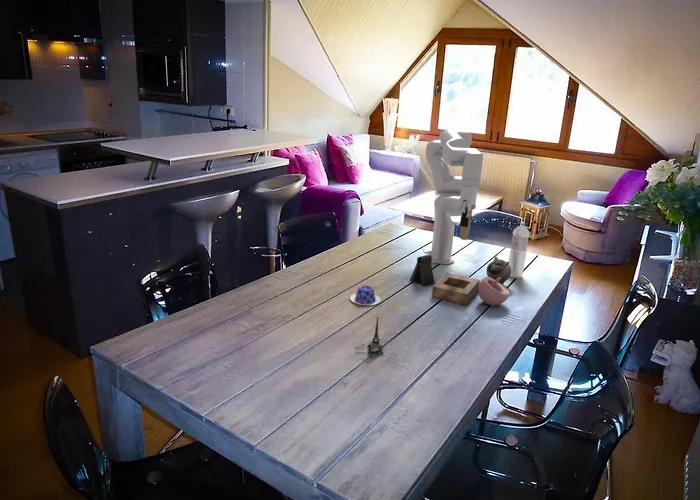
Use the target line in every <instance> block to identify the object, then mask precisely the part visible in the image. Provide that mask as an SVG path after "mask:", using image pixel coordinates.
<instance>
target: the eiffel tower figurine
mask: <svg viewBox="0 0 700 500" xmlns="http://www.w3.org/2000/svg"><path fill="white" fill-rule="evenodd" d="M382 340H383V338H381V337H379V316H377V317H376V323H375V329H374V334H373V338H372V340H370V341H367V342H364V343H362V344H360V345H357V346H356V347H354V348H353V353H354V354H355V355H357V356H363V355H365V354H366V355H370V356H371V355H374V356H384V354H385V352H384V346H383V345H382V344H381V342H382ZM360 360H361V361H363V362H365V363H367V364H371V362H370V361H368V360H367V359H366V358H360Z"/></svg>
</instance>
